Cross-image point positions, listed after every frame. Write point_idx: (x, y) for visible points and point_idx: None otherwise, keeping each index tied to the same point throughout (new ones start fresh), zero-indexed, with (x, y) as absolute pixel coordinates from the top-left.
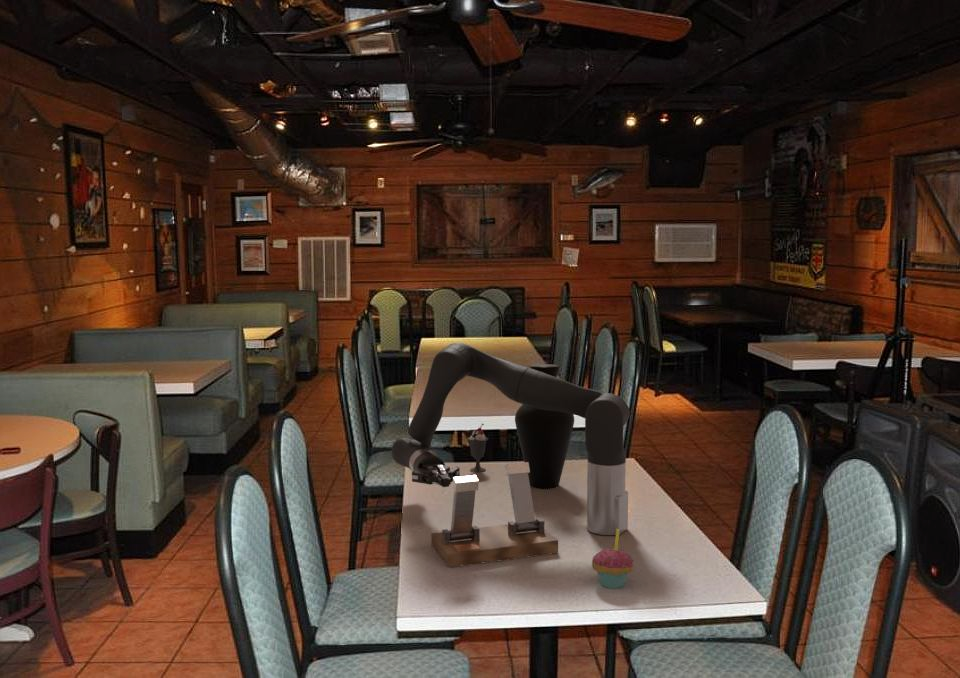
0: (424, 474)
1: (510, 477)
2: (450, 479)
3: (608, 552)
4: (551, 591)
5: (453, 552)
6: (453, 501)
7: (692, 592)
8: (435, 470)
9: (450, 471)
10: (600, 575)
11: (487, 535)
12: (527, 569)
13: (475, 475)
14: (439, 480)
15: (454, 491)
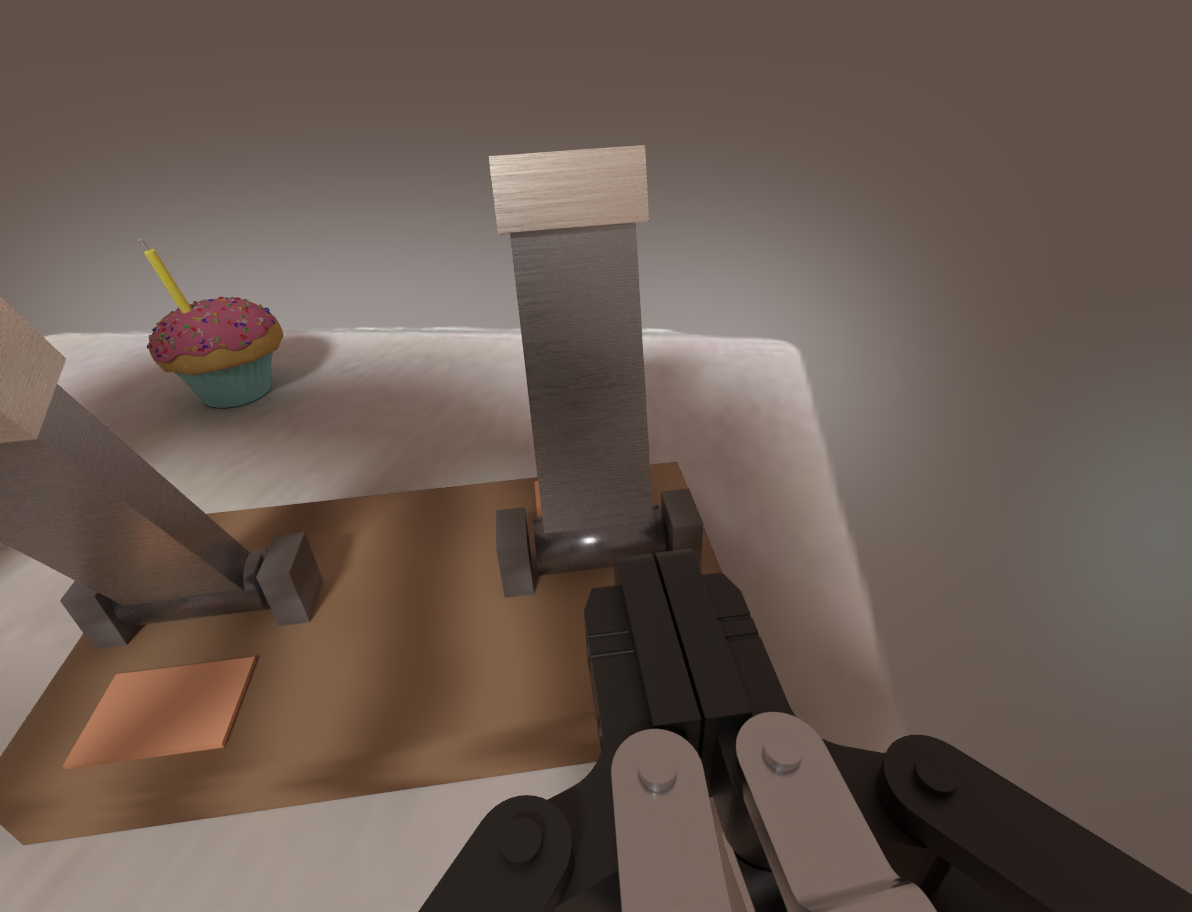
0: (1047, 809)
1: (60, 400)
2: (587, 611)
3: (219, 304)
4: (415, 380)
5: (654, 472)
6: (641, 328)
7: (114, 358)
8: (848, 908)
9: (522, 821)
10: (270, 358)
11: (436, 608)
12: (399, 470)
13: (491, 157)
14: (736, 595)
15: (636, 252)
